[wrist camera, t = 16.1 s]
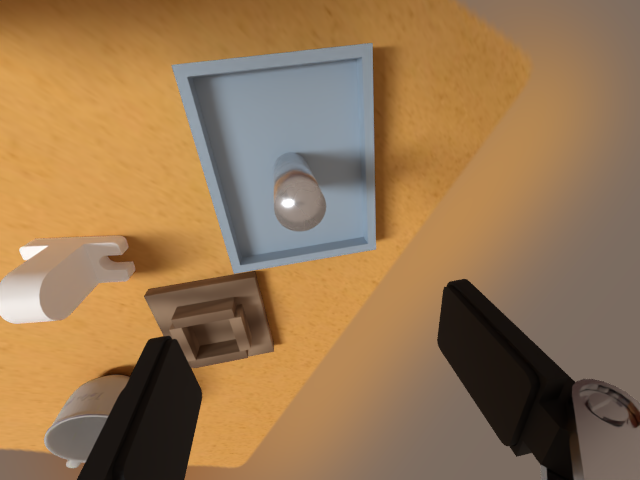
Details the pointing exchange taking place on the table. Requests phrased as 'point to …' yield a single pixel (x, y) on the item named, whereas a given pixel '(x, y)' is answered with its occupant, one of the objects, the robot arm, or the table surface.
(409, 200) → the table surface
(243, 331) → the brown square socket base
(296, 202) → the pin
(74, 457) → the teacup
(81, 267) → the cable organizer
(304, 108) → the tray
